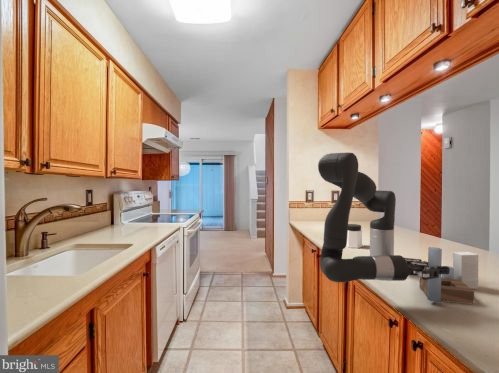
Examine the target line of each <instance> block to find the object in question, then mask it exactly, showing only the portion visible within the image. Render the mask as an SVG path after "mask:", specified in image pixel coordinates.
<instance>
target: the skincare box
mask: <svg viewBox="0 0 499 373" xmlns="http://www.w3.org/2000/svg"><path fill="white" fill-rule="evenodd" d="M452 267H453V268H454V279H459V280H461V281H462V282H463V283H465V284H466V285H467V286H468V287H469V288H471V289H472V290H473V289H475V290H476V289H477V290H478V289H479V254H477V253H474V252H471V251H453V252H452Z"/></svg>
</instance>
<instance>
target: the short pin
mask: <svg viewBox="0 0 499 373" xmlns="http://www.w3.org/2000/svg"><path fill="white" fill-rule="evenodd" d="M446 266H447V267H449V268H450V273H449V274H441V278H447V279H454V268H453V266H449V265H446Z"/></svg>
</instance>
